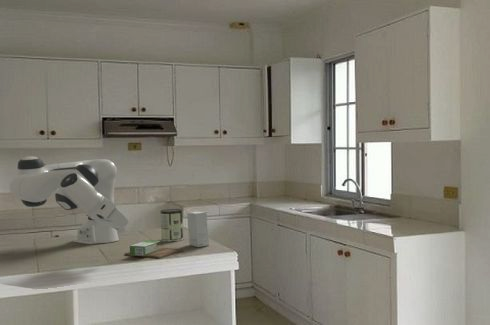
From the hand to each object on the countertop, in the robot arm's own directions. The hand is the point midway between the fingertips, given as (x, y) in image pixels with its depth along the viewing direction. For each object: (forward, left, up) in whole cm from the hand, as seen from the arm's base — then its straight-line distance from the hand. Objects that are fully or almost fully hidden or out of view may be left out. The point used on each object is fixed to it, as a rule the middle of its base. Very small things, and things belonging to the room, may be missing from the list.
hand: (122, 231), depth 204 cm
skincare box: (+9, +38, -12) cm, 41 cm away
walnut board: (+1, +17, -12) cm, 21 cm away
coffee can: (-11, +46, -12) cm, 49 cm away
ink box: (+1, +7, -9) cm, 11 cm away
